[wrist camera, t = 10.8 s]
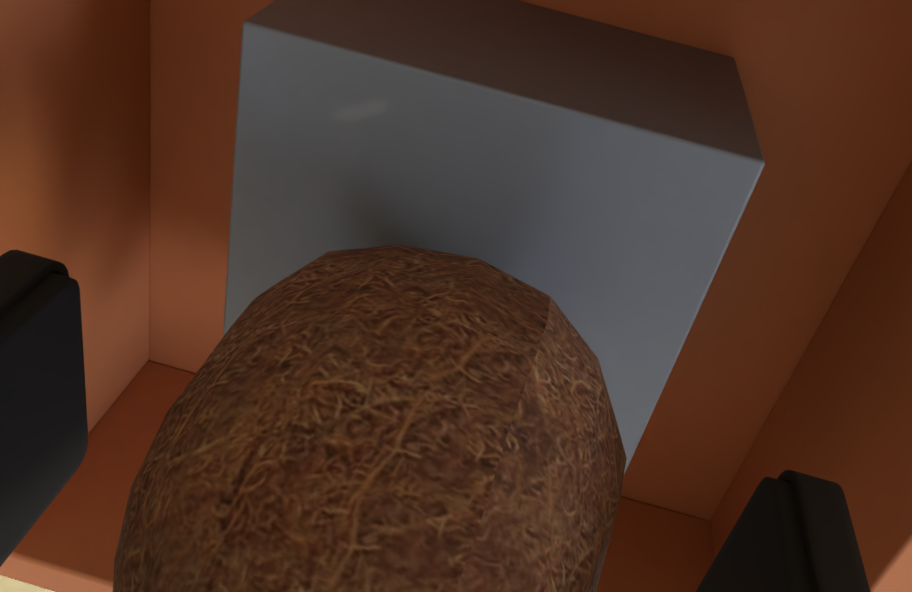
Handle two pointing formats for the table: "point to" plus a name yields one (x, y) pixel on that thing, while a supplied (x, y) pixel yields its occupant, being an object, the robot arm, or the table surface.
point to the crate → (702, 355)
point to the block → (497, 162)
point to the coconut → (383, 441)
